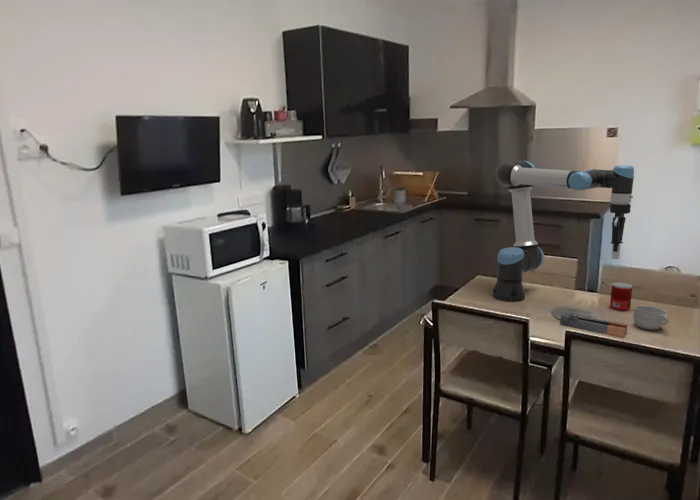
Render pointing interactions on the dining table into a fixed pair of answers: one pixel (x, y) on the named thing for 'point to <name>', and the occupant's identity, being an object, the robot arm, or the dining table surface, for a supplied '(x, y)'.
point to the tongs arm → (600, 321)
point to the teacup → (650, 317)
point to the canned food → (621, 296)
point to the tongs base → (592, 326)
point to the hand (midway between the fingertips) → (615, 258)
